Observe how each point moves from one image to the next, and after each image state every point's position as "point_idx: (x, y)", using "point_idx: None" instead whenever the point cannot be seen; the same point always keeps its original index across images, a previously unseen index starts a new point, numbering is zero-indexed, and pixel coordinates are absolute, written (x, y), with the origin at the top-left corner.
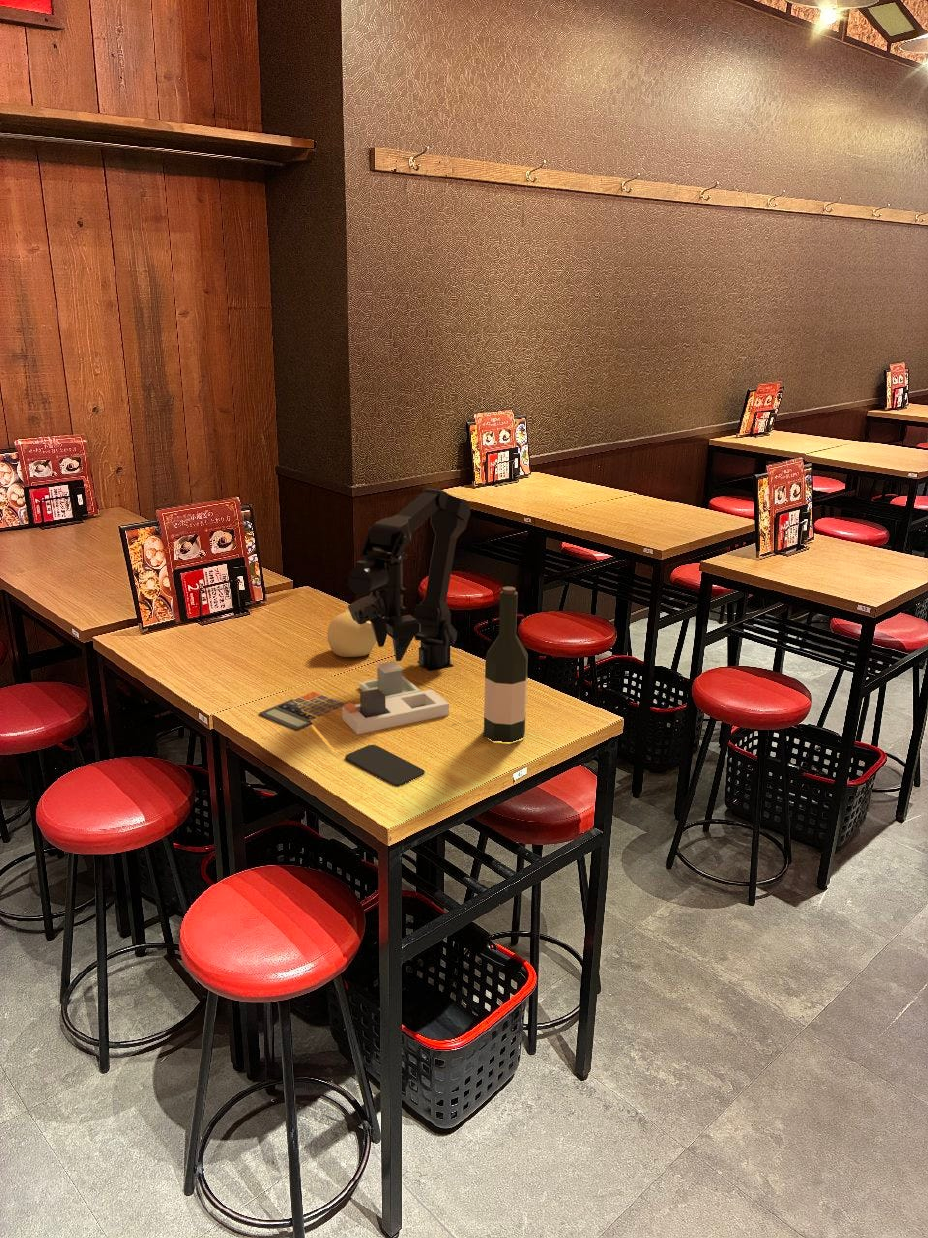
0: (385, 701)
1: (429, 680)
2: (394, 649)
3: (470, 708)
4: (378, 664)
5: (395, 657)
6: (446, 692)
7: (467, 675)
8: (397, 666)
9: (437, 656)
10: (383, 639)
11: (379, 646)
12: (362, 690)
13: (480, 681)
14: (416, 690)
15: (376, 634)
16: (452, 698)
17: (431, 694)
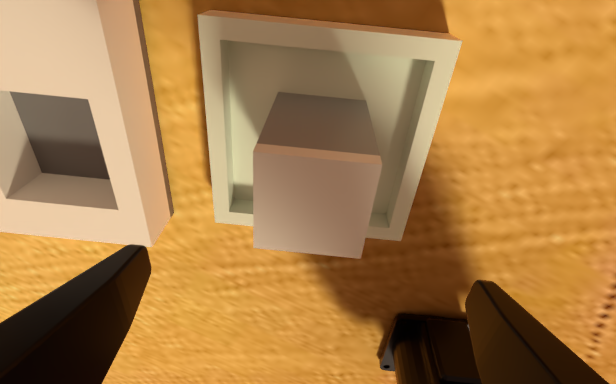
0: (58, 3)
1: (345, 287)
2: (52, 318)
3: None
4: (374, 169)
5: (126, 260)
6: (233, 279)
7: (314, 360)
8: (280, 237)
9: (403, 378)
10: (485, 356)
11: (477, 283)
12: (411, 31)
13: (261, 361)
14: (224, 211)
15: (551, 378)
16: (182, 271)
17: (102, 225)
